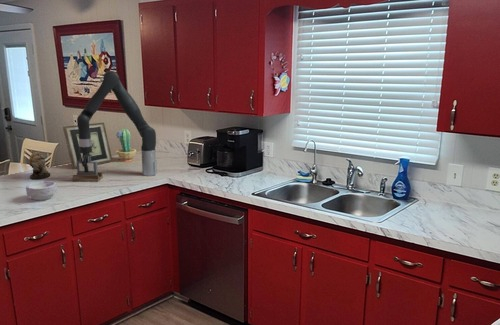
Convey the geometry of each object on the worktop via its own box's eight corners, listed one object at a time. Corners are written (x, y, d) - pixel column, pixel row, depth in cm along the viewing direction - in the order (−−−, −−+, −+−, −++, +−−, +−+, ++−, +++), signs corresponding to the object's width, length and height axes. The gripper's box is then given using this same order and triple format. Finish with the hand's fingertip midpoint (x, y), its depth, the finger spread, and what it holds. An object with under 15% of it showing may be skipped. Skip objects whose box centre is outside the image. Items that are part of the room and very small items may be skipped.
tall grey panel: (79, 174, 269) (78, 161, 267) (97, 174, 270) (96, 161, 268) (77, 176, 266) (76, 162, 264) (96, 176, 267) (95, 162, 265)
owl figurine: (47, 179, 268) (44, 154, 264) (27, 181, 265) (24, 155, 261) (52, 172, 285) (49, 148, 281) (33, 174, 282) (30, 149, 278)
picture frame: (73, 169, 295) (69, 127, 289) (66, 167, 301) (62, 126, 294) (112, 161, 321) (110, 123, 314) (105, 160, 326) (102, 122, 320)
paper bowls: (20, 200, 226) (19, 186, 224) (43, 192, 240) (42, 179, 238) (41, 203, 220) (40, 189, 219) (63, 196, 234) (62, 182, 233)
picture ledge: (78, 177, 273) (77, 171, 272) (102, 177, 274) (102, 171, 273) (72, 181, 263) (72, 175, 262) (98, 181, 264) (97, 175, 263)
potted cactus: (118, 158, 332) (117, 127, 327) (138, 158, 334) (136, 127, 328) (114, 162, 317) (112, 130, 312) (135, 162, 319) (133, 130, 313)
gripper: (83, 143, 270) (85, 168, 274) (75, 147, 256) (77, 174, 260) (94, 143, 271) (96, 168, 274) (87, 147, 257) (89, 174, 261)
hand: (87, 171), depth 267 cm, fingers closed on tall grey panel, 3 cm apart
